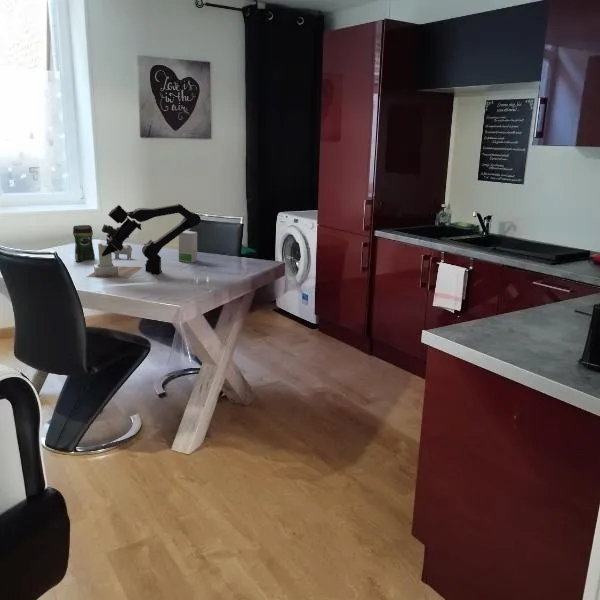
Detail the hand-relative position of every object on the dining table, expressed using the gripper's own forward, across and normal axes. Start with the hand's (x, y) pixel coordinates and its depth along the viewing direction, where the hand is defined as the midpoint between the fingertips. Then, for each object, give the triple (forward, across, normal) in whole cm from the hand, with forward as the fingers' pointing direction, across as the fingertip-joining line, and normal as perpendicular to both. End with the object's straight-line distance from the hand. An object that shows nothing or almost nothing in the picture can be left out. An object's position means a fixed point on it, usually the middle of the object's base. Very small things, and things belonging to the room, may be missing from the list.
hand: (102, 254), depth 265 cm
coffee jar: (+12, -37, +3) cm, 39 cm away
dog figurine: (-1, -38, +16) cm, 41 cm away
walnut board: (+3, -3, +11) cm, 12 cm away
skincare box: (-24, -24, +39) cm, 52 cm away
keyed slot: (+6, 0, +7) cm, 9 cm away
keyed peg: (+4, 0, +6) cm, 7 cm away
